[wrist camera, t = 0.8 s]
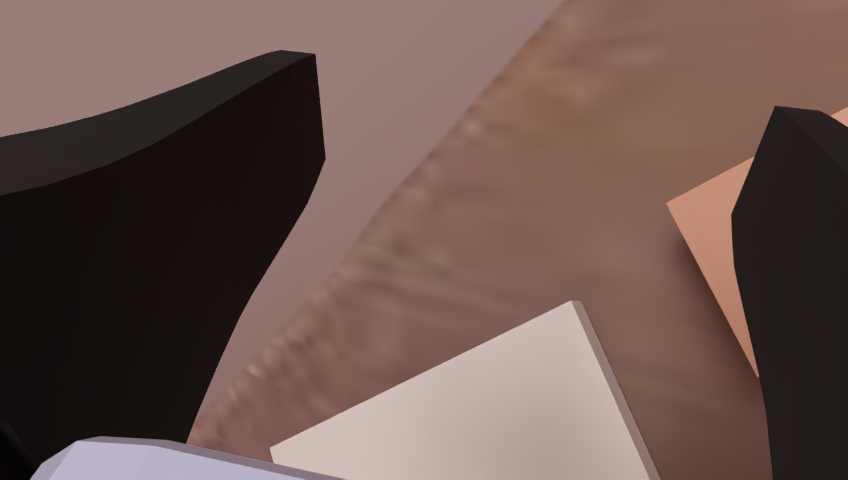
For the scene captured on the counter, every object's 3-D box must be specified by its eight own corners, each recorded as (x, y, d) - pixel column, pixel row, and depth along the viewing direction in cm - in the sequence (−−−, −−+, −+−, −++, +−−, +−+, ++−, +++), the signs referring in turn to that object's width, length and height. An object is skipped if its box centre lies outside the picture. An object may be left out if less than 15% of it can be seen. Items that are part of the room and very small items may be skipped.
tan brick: (976, 296, 19) (993, 291, 15) (778, 369, 21) (757, 377, 18) (866, 134, 20) (861, 99, 17) (697, 219, 23) (665, 203, 20)
